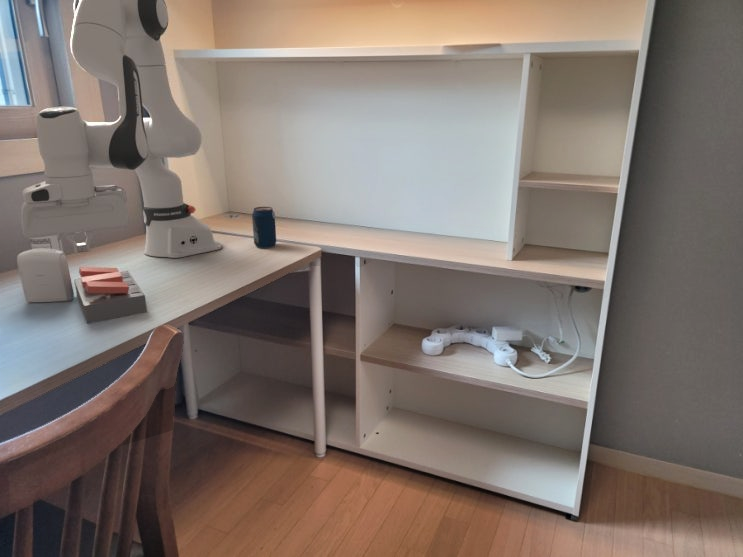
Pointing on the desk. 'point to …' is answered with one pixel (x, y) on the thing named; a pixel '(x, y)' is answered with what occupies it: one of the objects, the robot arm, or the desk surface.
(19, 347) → the desk surface
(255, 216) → the soda can
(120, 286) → the block
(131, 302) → the rocker switch panel
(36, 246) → the bath foam
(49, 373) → the desk surface
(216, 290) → the desk surface
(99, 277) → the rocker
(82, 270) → the block
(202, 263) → the desk surface
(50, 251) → the photo printer
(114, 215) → the robot arm
